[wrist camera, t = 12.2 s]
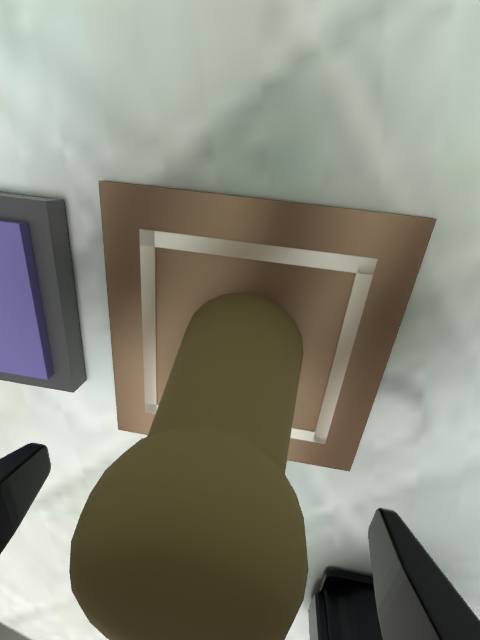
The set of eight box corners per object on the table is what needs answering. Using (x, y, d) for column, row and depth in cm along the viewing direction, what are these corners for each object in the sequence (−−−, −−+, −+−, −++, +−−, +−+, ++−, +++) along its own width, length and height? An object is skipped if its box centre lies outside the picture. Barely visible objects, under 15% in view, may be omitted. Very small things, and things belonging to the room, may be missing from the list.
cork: (188, 393, 17) (52, 683, 7) (180, 289, 15) (-39, 506, 5) (298, 403, 16) (319, 740, 6) (309, 295, 14) (370, 565, 4)
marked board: (432, 218, 13) (437, 219, 12) (348, 465, 18) (349, 472, 18) (103, 180, 14) (97, 180, 13) (121, 425, 19) (117, 430, 19)
